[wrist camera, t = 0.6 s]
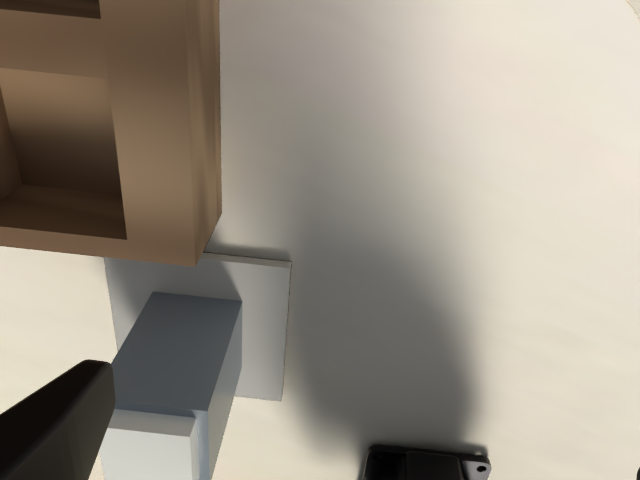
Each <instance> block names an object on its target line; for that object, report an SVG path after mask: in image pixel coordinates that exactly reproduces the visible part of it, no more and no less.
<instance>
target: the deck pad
mask: <svg viewBox="0 0 640 480" xmlns="http://www.w3.org/2000/svg"><path fill="white" fill-rule="evenodd" d="M104 262H105V269H106V276H107V283H108V289H109V296H110V303H111V310H112V316H113V323H114V330H115V337H116V343H117V350H118V351H119V349H120V348H121V346H122V344H123V342H124V341H125V339H126V337H127V335H128V334H129V332H130V330H131V328H132V327H133V325H134V323H135V321H136V320H137V318H138V316H139V315H140V313H141V311H142V309H143V308H144V306H145V304H146V302H147V301H148V299H149V297H150V295H151V294H152V292H153V291H154V292H163V293H172V294H181V295H191V296H200V297H209V298H218V299H228V300H237V301H243V305H242V369H241V372H240V376H239V380H238V383H237V387H236V391H235V394H234V396H236V397H245V398H254V399H263V400H272V401H281V400H282V394H283V380H284V365H285V350H286V335H287V320H288V305H289V290H290V275H291V262H288V261H278V260H269V259H260V258H250V257H241V256H231V255H222V254H213V253H202V255H201V257H200V259H199V261H198V263H197V265H196V267H192V266H182V265H173V264H164V263H155V262H145V261H136V260H127V259H117V258H108V257H104Z"/></svg>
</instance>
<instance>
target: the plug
mask: <svg viewBox="0 0 640 480" xmlns="http://www.w3.org/2000/svg"><path fill="white" fill-rule="evenodd" d="M242 305H243V301H237V300H228V299H218V298H209V297H200V296H191V295H181V294H172V293H163V292H154V291H153V292H152V294H151V295H150V297H149V299H148V301H147V302H146V304H145V306H144V308H143V309H142V311H141V313H140V315H139V316H138V318H137V320H136V321H135V323H134V325H133V327H132V328H131V330H130V332H129V334H128V335H127V337H126V339H125V341H124V342H123V344H122V346H121V348H120V349H119V351H118V353H117V355H116V356H115V358H114V360H113V362H112V363H111V365H112V368H113V375H114V385H115V395H116V403H115V408H114V412H113V415H112V417H111V420H110V423H109V425H108V428H107V431H106V433H105V436H104V439H103V441H102V444H101V447H100V449H99V453H100V458H101V463H102V468H103V473H104V478H105V480H211V479H212V475H213V472H214V468H215V464H216V461H217V457H218V453H219V450H220V446H221V442H222V439H223V435H224V431H225V428H226V424H227V420H228V417H229V413H230V409H231V406H232V402H233V398H234V394H235V391H236V387H237V383H238V380H239V376H240V372H241V369H242Z"/></svg>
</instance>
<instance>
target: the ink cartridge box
mask: <svg viewBox="0 0 640 480" xmlns="http://www.w3.org/2000/svg"><path fill="white" fill-rule="evenodd" d="M627 1H628V3H629V5H630V6H631V8H632V9H633V11H634V13H635V14H636V16H637V17H638V19H639V20H640V0H627Z"/></svg>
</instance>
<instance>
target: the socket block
mask: <svg viewBox="0 0 640 480" xmlns="http://www.w3.org/2000/svg"><path fill="white" fill-rule="evenodd" d="M221 214H222V204H221V125H220V45H219V0H0V246H6V247H15V248H24V249H33V250H43V251H52V252H61V253H71V254H80V255H89V256H99V257H108V258H117V259H127V260H136V261H145V262H155V263H164V264H173V265H182V266H192V267H196V265H197V263H198V261H199V259H200V257H201V255H202V253H203V250H204V248H205V246H206V244H207V242H208V240H209V238H210V236H211V234H212V232H213V230H214V228H215V226H216V224H217V222H218V220H219V218H220V216H221Z"/></svg>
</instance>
